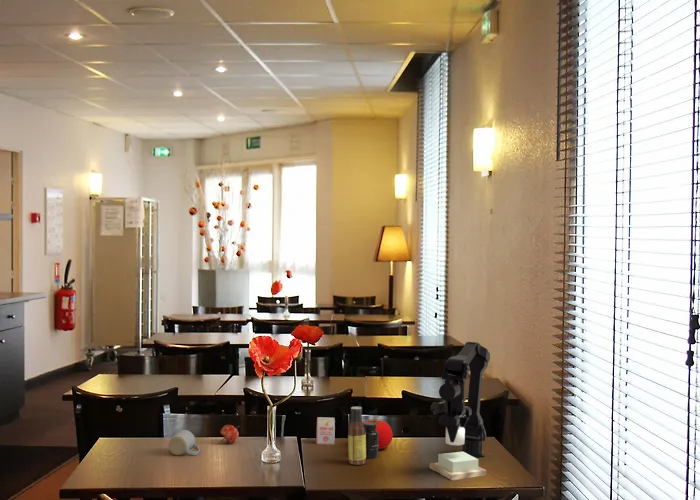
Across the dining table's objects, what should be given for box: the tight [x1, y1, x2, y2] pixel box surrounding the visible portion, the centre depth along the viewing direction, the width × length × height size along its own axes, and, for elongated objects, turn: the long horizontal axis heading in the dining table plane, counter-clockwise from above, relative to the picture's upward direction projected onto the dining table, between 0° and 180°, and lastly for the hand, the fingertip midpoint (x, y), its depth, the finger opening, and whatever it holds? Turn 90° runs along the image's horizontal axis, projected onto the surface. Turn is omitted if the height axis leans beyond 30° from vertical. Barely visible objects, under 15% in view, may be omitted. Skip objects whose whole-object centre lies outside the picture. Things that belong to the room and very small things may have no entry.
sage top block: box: [437, 451, 479, 473], centre depth 274 cm, size 10×10×4 cm
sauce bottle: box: [347, 406, 367, 466], centre depth 281 cm, size 7×6×20 cm
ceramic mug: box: [168, 429, 201, 456], centre depth 289 cm, size 11×8×8 cm
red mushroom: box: [217, 424, 240, 445], centre depth 304 cm, size 7×7×10 cm
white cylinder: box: [445, 427, 465, 446], centre depth 274 cm, size 6×6×5 cm
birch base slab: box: [429, 461, 487, 481], centre depth 274 cm, size 14×14×2 cm
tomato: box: [362, 419, 394, 450], centre depth 302 cm, size 14×13×10 cm
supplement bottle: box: [363, 422, 379, 459], centre depth 290 cm, size 7×7×12 cm
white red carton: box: [315, 416, 336, 446], centre depth 306 cm, size 4×7×10 cm, turn 88°
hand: (455, 439), depth 274 cm, fingers closed on white cylinder, 6 cm apart
